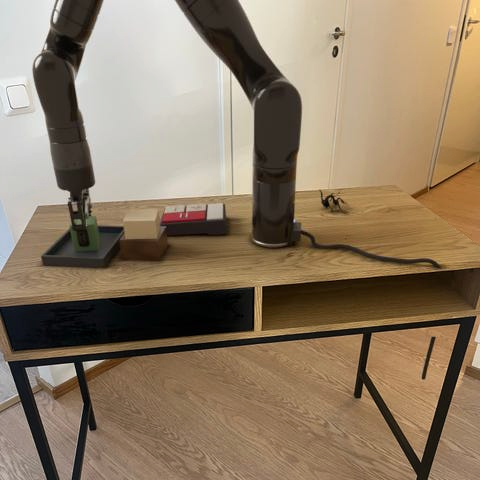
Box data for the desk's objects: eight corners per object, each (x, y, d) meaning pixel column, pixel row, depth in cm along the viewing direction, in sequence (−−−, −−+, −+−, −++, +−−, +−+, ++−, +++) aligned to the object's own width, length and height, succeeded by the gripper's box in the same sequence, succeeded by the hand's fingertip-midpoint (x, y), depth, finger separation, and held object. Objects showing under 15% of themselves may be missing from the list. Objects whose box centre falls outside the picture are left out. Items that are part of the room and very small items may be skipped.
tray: (129, 234, 116) (128, 226, 115) (104, 267, 102) (103, 258, 101) (74, 232, 118) (73, 224, 117) (43, 265, 103) (40, 256, 102)
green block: (100, 241, 112) (96, 215, 109) (98, 250, 108) (93, 224, 105) (77, 242, 111) (72, 217, 108) (74, 252, 107) (69, 225, 104)
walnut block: (168, 245, 111) (166, 226, 109) (159, 261, 104) (157, 241, 102) (133, 244, 112) (130, 225, 110) (122, 259, 105) (119, 239, 103)
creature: (338, 206, 134) (312, 203, 131) (344, 187, 131) (318, 183, 128) (353, 217, 128) (325, 214, 125) (359, 196, 125) (332, 193, 122)
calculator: (163, 204, 123) (224, 200, 122) (166, 221, 125) (226, 217, 125) (159, 221, 113) (224, 216, 113) (161, 238, 116) (226, 234, 116)
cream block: (160, 226, 109) (158, 209, 106) (157, 238, 103) (155, 220, 101) (130, 227, 108) (128, 209, 106) (125, 239, 103) (122, 221, 101)
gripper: (88, 171, 94) (102, 250, 103) (95, 152, 106) (106, 224, 115) (47, 174, 93) (64, 253, 102) (58, 154, 105) (73, 227, 114)
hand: (86, 238), depth 108 cm, fingers open, 8 cm apart
